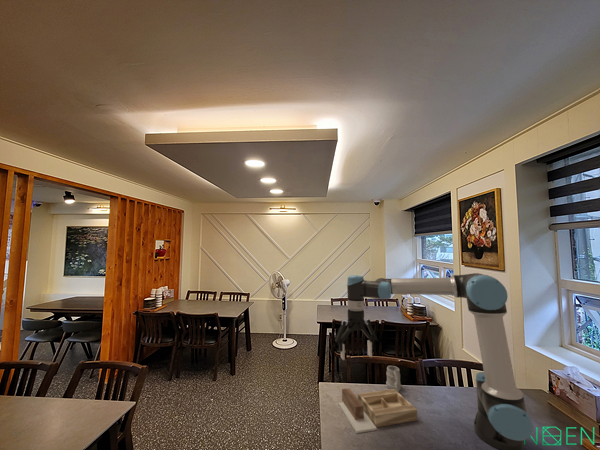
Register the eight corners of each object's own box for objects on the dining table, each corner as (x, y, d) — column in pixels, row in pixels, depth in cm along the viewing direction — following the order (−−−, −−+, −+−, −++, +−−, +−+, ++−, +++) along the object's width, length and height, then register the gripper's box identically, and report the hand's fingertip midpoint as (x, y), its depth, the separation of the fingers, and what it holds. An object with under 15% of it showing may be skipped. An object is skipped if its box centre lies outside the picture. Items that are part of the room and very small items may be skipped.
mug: (398, 384, 133) (397, 361, 134) (406, 396, 121) (405, 371, 123) (384, 383, 134) (384, 360, 135) (390, 395, 122) (390, 370, 123)
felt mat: (376, 430, 98) (376, 427, 98) (356, 433, 96) (356, 431, 96) (355, 401, 116) (355, 400, 117) (338, 404, 114) (338, 402, 114)
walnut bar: (349, 399, 117) (349, 388, 118) (363, 418, 104) (363, 406, 104) (342, 400, 116) (342, 389, 117) (355, 419, 103) (355, 407, 103)
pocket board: (417, 420, 104) (416, 409, 105) (375, 427, 100) (375, 415, 100) (394, 398, 120) (394, 388, 120) (357, 403, 115) (357, 393, 116)
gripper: (333, 312, 105) (333, 363, 103) (384, 310, 111) (385, 358, 109) (327, 308, 112) (327, 356, 110) (375, 306, 118) (376, 351, 116)
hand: (356, 357), depth 109 cm, fingers open, 13 cm apart
